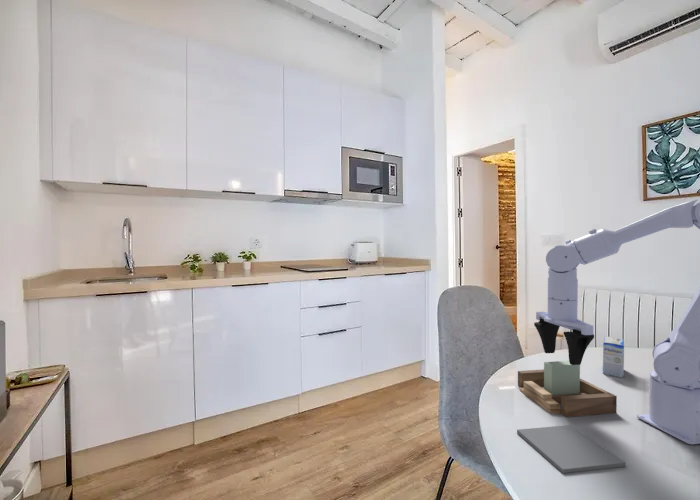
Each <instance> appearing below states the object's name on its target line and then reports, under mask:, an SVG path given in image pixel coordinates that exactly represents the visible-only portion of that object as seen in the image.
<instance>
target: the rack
mask: <svg viewBox="0 0 700 500" xmlns="http://www.w3.org/2000/svg"><path fill="white" fill-rule="evenodd" d="M524 381H532V382H534V383H535V384H537V385H538V386H540V387H542V388H543V389H544V368H543V369H531V370H527V369H526V370H518V371H517V386H518V387H519V388H524ZM617 397H618V396H617V395H615V394H614V393H611V392H609V391H607V390H606V389H603V388H601V387H599V386H597V385H595V384H593V383H590V382H588V381H586V380H584V379H582V378H580V393H577V394H564V395H552V399H553V400H554V401H556V402H557V403H559V404H560V409H561V413H560V415H562V416H565V417H566V418H571V417H583V416H584V417H585V416H594V415H595V416H596V415H605V414H607V415H608V414H617V410H618V409H617V407H618V406H617V403H618V401H617Z"/></svg>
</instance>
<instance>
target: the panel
mask: <svg viewBox="0 0 700 500" xmlns="http://www.w3.org/2000/svg"><path fill="white" fill-rule="evenodd" d="M543 369H544V386H543V388H544V389H545V390H546V391H548V392H549V393H551V394H552V395H564V394H577V393H580V379H581V364H580V365H571V364H570V362H569V360H559V361H557V360H556V361H544V362H543Z"/></svg>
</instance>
